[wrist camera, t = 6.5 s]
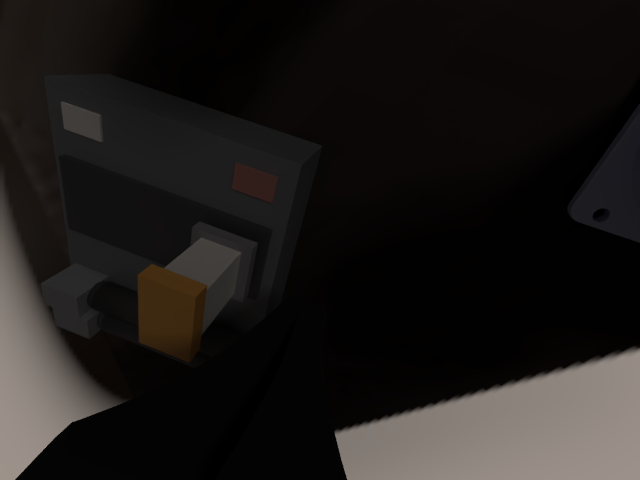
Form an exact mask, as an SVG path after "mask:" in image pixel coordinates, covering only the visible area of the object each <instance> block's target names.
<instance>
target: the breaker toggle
mask: <svg viewBox="0 0 640 480" xmlns="http://www.w3.org/2000/svg"><path fill="white" fill-rule="evenodd" d="M257 247H258V243H257V242H254V241H251V240H249V239H246V238H243V237H240V236H238V235H235V234H232V233H230V232H227V231H224V230H221V229H219V228H216V227H213V226H211V225H208V224H205V223H202V222H200V221H199V222H198V223H197V224H195V225H194V226H193V227H192V234H191V246H190V247H189V248H188V249H187V250H185V251H184V252H183V253H182V254H181V255H179V256H178V257H177V258H176V259H174V260H173V261H172V262H171V263H170V264H168V265H167V266H166V267H165V268H161V267H158V266H156V265H153V264H151V265H150V266H149V267H147V268H146V269H145V270H143V271H142V272H141V273H139V274H138V319H139V343H142V344H144V345H147V346H149V347H152V348H154V349H157V350H159V351H162V352H164V353H166V354H169V355H171V356H174V357H176V358H179V359H181V360H184V361H186V362H188V363H190V362H191V360H192V359H193V358H194V356H195V355H196V354H197V352H198V351H199V350H200V343H201V335H202V334H203V333H204V332H205V330H206V329H207V328H208V326H209V325H210V324H211V323H212V321H213V320H214V319H215V318H216V316H217V315H218V314H219V312H220V311H221V310H222V309H223V307H224V306H225V305H226V303H227V302H228V301H229V300H230V298H232V299H234V300H237V301H239V302H242V303H243V301H244V300H245V299H246V297H247V296H248V292H249V287H250V282H251V277H252V272H253V267H254V262H255V257H256V252H257Z"/></svg>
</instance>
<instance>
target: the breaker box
mask: <svg viewBox="0 0 640 480" xmlns="http://www.w3.org/2000/svg"><path fill="white" fill-rule="evenodd" d="M44 81H45V88H46V95H47V102H48V109H49V116H50V122H51V129H52V136H53V143H54V150H55V157H56V164H57V171H58V178H59V185H60V192H61V199H62V206H63V213H64V220H65V227H66V234H67V241H68V248H69V255H70V262H71V266H70V267H68V268H67V269H65V270H63V271H61V272H60V273H58V274H56V275H55V276H53V277H51V278H50V279H48V280H46V281H45V282H43V283H41V288H42V293H43V298H44V302H45V304H47V305H49V306H52V307H53V312H54V318H55V323H56V325H57V326H59V327H61V328H64V329H66V330H69V331H71V332H74V333H76V334H78V335H81V336H83V337H86V338H88V339H90V338H91V337H92V336H94V335H95V334H96V333H97V332H98V331H100V330H103V331H105V332H108V333H110V334H113V335H115V336H117V337H120V338H122V339H125V340H127V341H130V342H132V343H135V344H137V345H139V346H142V347H144V348H147V349H149V350H152V351H154V352H157V353H159V354H161V355H164V356H166V357H169V358H171V359H174V360H176V361H179V362H181V363H183V364H186V365H188V366H191V367H193V368H195V367H197V366H199V365H200V364H202V363H204V362H205V361H207V360H208V359H210V358H212V357H213V356H215V355H216V354H218V353H219V352H221V351H222V350H224V349H225V348H227V347H228V346H229V345H231V344H232V343H233V342H235V341H236V340H237V339H239V338H240V337H241V336H243V335H244V334H246V333H247V332H248V331H249V330H251V329H252V328H253V327H254V326H255V325H257V324H258V323H259V322H260V321H261V320H263V319H264V318H265V317H266V316H267V315H268V314H270V313H271V312H272V311H273V310H274V309H275V308H276V307H277V306H278V305H279V304H280V303H281V299H282V295H283V292H284V288H285V284H286V280H287V277H288V273H289V269H290V265H291V262H292V258H293V254H294V250H295V247H296V243H297V239H298V236H299V232H300V228H301V224H302V221H303V217H304V213H305V209H306V206H307V202H308V198H309V194H310V191H311V187H312V183H313V179H314V176H315V172H316V168H317V164H318V161H319V157H320V153H321V150H322V146H321V145H318V144H315V143H312V142H309V141H306V140H303V139H301V138H298V137H295V136H292V135H289V134H286V133H283V132H280V131H277V130H274V129H271V128H268V127H265V126H262V125H259V124H256V123H253V122H250V121H247V120H244V119H241V118H238V117H235V116H232V115H229V114H226V113H223V112H220V111H217V110H214V109H212V108H209V107H206V106H203V105H200V104H197V103H194V102H191V101H188V100H185V99H182V98H179V97H176V96H173V95H170V94H167V93H164V92H161V91H158V90H155V89H152V88H149V87H146V86H143V85H140V84H137V83H134V82H131V81H128V80H125V79H123V78H120V77H117V76H114V75H111V74H85V75H55V76H44ZM199 221H200V222H202V223H205V224H208V225H211V226H213V227H216V228H219V229H221V230H224V231H227V232H230V233H232V234H235V235H238V236H240V237H243V238H246V239H249V240H251V241H254V242H257V243H258V247H257V252H256V257H255V262H254V267H253V272H252V277H251V282H250V287H249V292H248V296H247V297H246V299H245V300H244V301H243V303H242V302H239V301H237V300H234V299H232V298H230V300H229V301H228V302H227V303H226V305H225V306H224V307H223V309H222V310H221V311H220V312H219V314H218V315H217V316H216V318H215V319H214V320H213V321H212V323H211V324H210V325H209V326H208V328H207V329H206V330H205V332H204V333H203V334H202V335H201V343H200V350H199V351H198V352H197V354H196V355H195V356H194V358H193V359H192V360H191V362H190V363H188V362H186V361H184V360H181V359H179V358H176V357H174V356H171V355H169V354H166V353H164V352H162V351H159V350H157V349H154V348H152V347H149V346H147V345H144V344H142V343H139V319H138V274H139V273H141V272H142V271H143V270H145V269H146V268H147V267H149V266H150V265H151V264H153V265H156V266H158V267H161V268H165V267H166V266H167V265H168V264H170V263H171V262H172V261H173V260H174V259H176V258H177V257H178V256H179V255H181V254H182V253H183V252H184V251H185V250H187V249H188V248H189V247H190V246H191V234H192V227H193V226H194V225H195V224H197V223H198V222H199Z"/></svg>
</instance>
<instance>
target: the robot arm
mask: <svg viewBox="0 0 640 480" xmlns="http://www.w3.org/2000/svg"><path fill="white" fill-rule="evenodd" d="M601 208H604V209H605V211H604V214H602V215H601V216H600V217H596V218H593V217H592V216H593V213H594V212H595V211H596V210H598V209H601ZM567 212H568V214H569V215H570V217H571V218H572V219H574V220H575V221H577V222H579V223H582V224H585V225H588V226H591V227H594V228H597V229H600V230H603V231H606V232H609V233H612V234H615V235H618V236H621V237H624V238H627V239H630V240H633V241H636V242H639V243H640V104H639V105H638V106H637V108H636V109H635V111H634V112H633V113H632V115H631V116H630V118H629V119H628V121H627V122H626V123H625V125H624V126H623V128H622V129H621V130H620V132H619V133H618V135H617V136H616V138H615V139H614V140H613V142H612V143H611V145H610V146H609V147H608V149H607V150H606V152H605V153H604V155H603V156H602V157H601V159H600V160H599V162H598V163H597V164H596V166H595V167H594V169H593V170H592V171H591V173H590V174H589V176H588V177H587V179H586V180H585V181H584V183H583V184H582V186H581V187H580V188H579V190H578V191H577V193H576V194H575V196H574V197H573V198H572V200H571V201H570V203H569V205H568V207H567ZM326 314H327V306H326V305H325V304H322V303H318V302H314V301H311V300H307V299H303V298H299V297H295V296H291V295H290V296H288V297H286V298H285V299H284V300H283V301H282V302H281V303H280V304H279V305H278V306H277V307H276V308H275V309H274V310H273V311H272V312H271V313H270V314H268V315H267V316H266V317H265V318H264V319H263V320H261V321H260V322H259V323H258V324H257V325H255V326H254V327H253V328H252V329H251V330H249V331H248V332H247V333H246V334H244V335H243V336H241V337H240V338H239V339H237V340H236V341H235V342H233V343H232V344H231V345H229V346H228V347H227V348H225V349H224V350H222V351H221V352H219V353H218V354H216V355H215V356H213V357H212V358H210V359H208V360H207V361H205V362H204V363H202V364H200V365H199V366H197V367H195V368H193V369H192V370H190V371H188V372H186V373H184V374H183V375H181V376H179V377H177V378H175V379H174V380H172V381H170V382H168V383H166V384H164V385H162V386H160V387H157V388H155V389H153V390H151V391H149V392H147V393H145V394H142V395H140V396H138V397H136V398H134V399H132V400H129V401H127V402H125V403H122V404H120V405H117V406H115V407H112V408H110V409H107V410H105V411H102V412H99V413H96V414H94V415H91V416H89V417H86V418H83V419H81V420H78V421H75V422H72V423H71V424H70V425H69V426H68V427H67V428H65V429H64V430H63V431H62V432H61V433H60V434H59V435H58V436H57V437H55V438H54V439H53V441H52V442H51V443H50V444H49V445H48V446H47V447H46V448H45V449H44V450H43V451H42V452H41V453H40V454H39V455H38V456H37V457H36V458H35V459H34V460H33V461H32V463H31V464H30V465H29V466H28V467H27V468H26V469H25V470H24V471H23V472H22V473H21V474H20V475H19V476H18V477H17V478H16V479H15V480H347V478H346V474H345V471H344V468H343V464H342V461H341V457H340V453H339V449H338V445H337V441H336V437H335V433H334V429H333V424H332V419H331V414H330V409H329V404H328V398H327V391H326V384H325V375H324V364H323V331H324V325H325V319H326Z"/></svg>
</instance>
